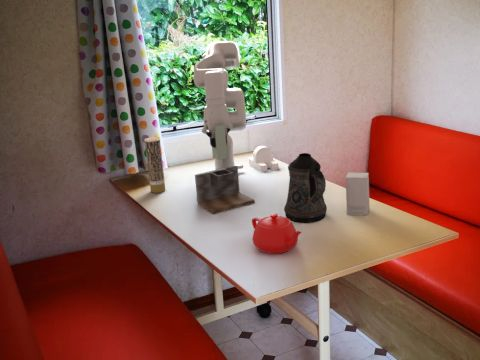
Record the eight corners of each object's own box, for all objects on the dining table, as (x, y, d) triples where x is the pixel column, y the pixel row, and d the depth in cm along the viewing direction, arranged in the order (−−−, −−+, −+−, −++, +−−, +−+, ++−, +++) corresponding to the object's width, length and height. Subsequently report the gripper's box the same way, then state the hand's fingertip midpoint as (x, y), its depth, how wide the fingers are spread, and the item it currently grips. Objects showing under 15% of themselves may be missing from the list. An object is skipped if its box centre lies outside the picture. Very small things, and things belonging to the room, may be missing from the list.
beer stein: (297, 205, 228) (295, 147, 221) (341, 213, 218) (340, 151, 210) (276, 219, 216) (273, 157, 208) (321, 228, 205) (320, 163, 197)
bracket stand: (237, 194, 247) (235, 165, 243) (254, 202, 235) (252, 172, 231) (197, 204, 237) (194, 174, 233) (213, 214, 226) (210, 182, 222)
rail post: (222, 155, 235) (219, 118, 230) (227, 157, 231) (224, 120, 226) (212, 157, 233) (209, 120, 228) (217, 160, 229) (214, 121, 224)
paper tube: (166, 188, 261) (161, 136, 254) (163, 193, 255) (157, 140, 247) (152, 188, 262) (146, 137, 255) (149, 193, 256) (142, 141, 248)
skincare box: (369, 210, 219) (369, 172, 214) (367, 216, 213) (367, 177, 208) (348, 208, 222) (348, 171, 217) (345, 214, 216) (345, 176, 211)
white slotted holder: (261, 172, 276) (260, 151, 273) (248, 164, 292) (247, 144, 289) (279, 169, 279) (278, 148, 276) (265, 161, 295) (264, 141, 292)
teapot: (237, 244, 196) (234, 212, 193) (270, 231, 205) (268, 200, 201) (285, 267, 177) (283, 232, 174) (319, 251, 186) (318, 218, 182)
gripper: (229, 98, 232) (232, 140, 237) (192, 104, 224) (196, 147, 229) (238, 100, 226) (241, 143, 231) (201, 106, 218) (205, 151, 223)
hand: (218, 145), depth 230 cm, fingers closed on rail post, 4 cm apart
